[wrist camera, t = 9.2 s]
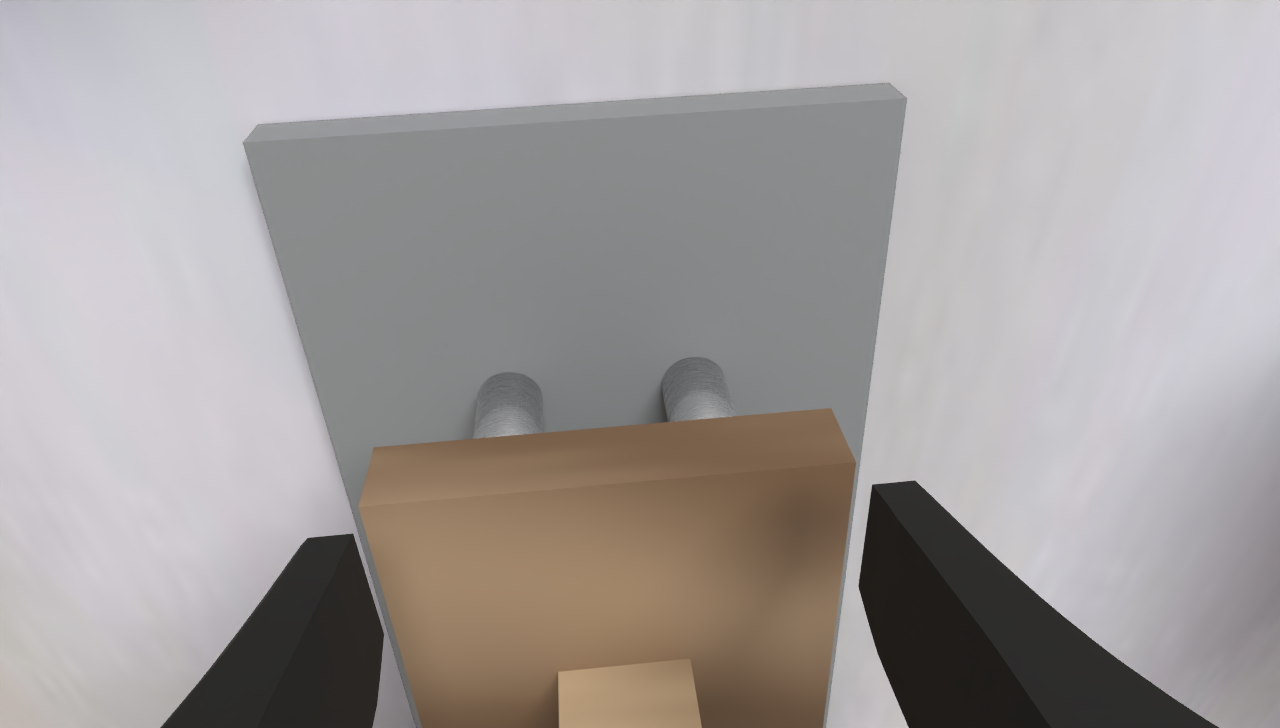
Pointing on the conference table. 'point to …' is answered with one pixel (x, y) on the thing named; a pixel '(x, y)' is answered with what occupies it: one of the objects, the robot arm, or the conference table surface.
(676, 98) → the peg stand
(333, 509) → the conference table surface
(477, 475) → the wooden t-shaped block
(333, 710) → the robot arm
